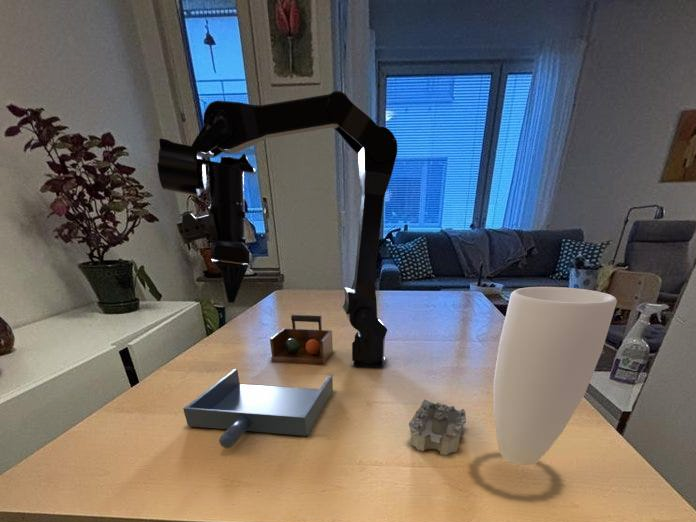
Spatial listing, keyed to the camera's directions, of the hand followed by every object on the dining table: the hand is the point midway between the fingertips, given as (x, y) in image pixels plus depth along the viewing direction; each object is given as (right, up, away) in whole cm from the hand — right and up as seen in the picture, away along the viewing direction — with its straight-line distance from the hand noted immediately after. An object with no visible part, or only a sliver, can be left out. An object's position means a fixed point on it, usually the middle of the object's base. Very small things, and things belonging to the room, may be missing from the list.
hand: (230, 297), depth 77 cm
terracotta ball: (+15, -5, +14) cm, 21 cm away
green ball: (+10, -5, +14) cm, 18 cm away
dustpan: (+9, -25, -12) cm, 29 cm away
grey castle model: (+37, -29, -17) cm, 50 cm away
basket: (+12, -7, +15) cm, 21 cm away
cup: (+46, -35, -26) cm, 63 cm away
